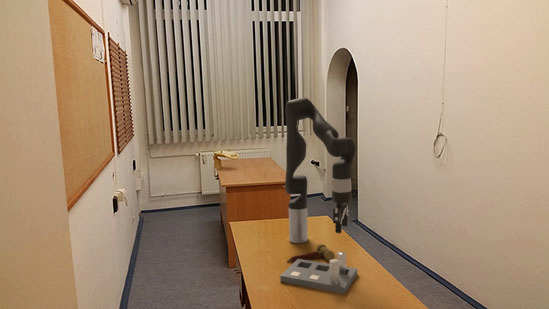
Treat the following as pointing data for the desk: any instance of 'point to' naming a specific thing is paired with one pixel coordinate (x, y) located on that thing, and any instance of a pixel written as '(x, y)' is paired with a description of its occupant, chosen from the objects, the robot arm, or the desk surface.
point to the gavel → (315, 254)
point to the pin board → (319, 275)
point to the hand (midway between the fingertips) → (341, 229)
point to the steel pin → (342, 262)
